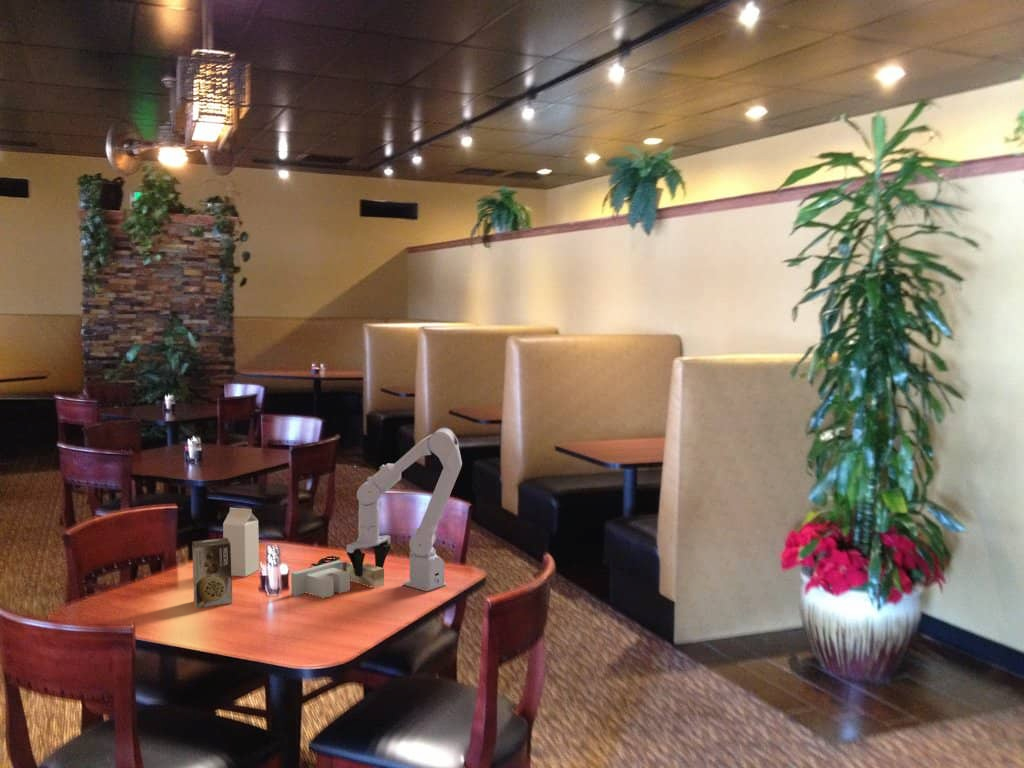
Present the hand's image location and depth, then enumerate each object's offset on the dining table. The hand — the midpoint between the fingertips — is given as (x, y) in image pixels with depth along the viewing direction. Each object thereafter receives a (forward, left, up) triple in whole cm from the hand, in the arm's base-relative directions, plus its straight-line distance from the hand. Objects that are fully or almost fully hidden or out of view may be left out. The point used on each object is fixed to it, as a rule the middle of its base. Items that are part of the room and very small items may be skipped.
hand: (369, 572), depth 245 cm
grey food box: (+19, +37, -3) cm, 42 cm away
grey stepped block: (+3, +12, -3) cm, 13 cm away
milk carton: (+36, +17, -3) cm, 40 cm away
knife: (+21, +1, -4) cm, 21 cm away
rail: (+3, 0, -3) cm, 5 cm away
